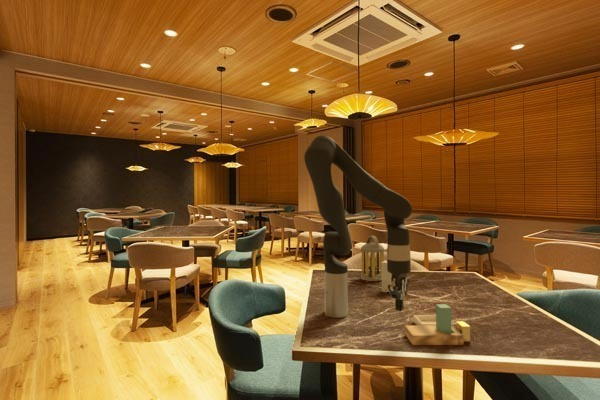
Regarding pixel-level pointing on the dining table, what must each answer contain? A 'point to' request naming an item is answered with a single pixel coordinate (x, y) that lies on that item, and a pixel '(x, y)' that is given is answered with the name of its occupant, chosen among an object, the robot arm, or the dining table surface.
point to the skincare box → (385, 277)
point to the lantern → (372, 259)
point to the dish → (424, 319)
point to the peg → (443, 318)
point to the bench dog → (464, 330)
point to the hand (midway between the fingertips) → (399, 309)
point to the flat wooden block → (432, 335)
